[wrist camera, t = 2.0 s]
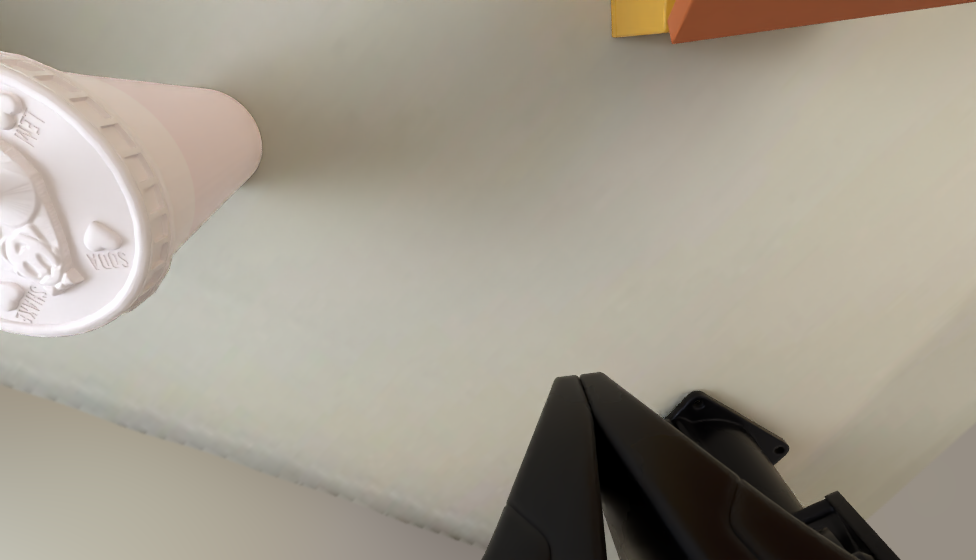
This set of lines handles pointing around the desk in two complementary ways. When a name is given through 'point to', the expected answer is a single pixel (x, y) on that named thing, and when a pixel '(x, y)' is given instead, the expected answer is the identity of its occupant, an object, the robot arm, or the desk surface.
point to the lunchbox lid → (775, 14)
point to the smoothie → (105, 189)
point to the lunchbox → (640, 17)
